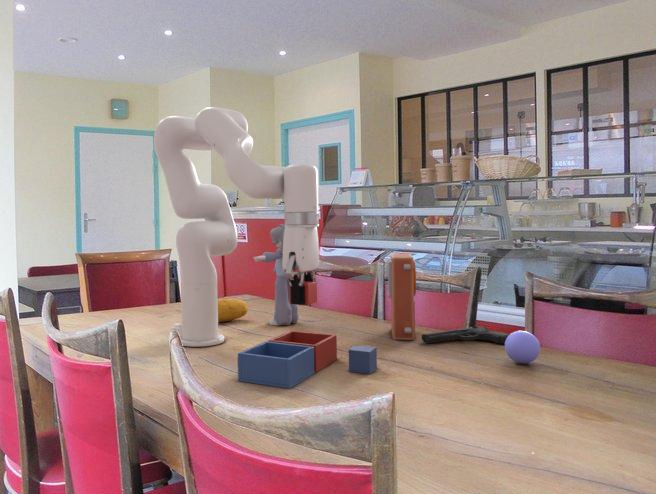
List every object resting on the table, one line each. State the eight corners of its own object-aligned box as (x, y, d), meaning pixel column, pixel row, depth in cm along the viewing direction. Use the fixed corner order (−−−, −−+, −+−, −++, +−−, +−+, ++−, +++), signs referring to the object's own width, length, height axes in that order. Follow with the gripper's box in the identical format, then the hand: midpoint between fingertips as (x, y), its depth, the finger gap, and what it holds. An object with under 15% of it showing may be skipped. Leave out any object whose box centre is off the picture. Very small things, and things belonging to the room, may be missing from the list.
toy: (299, 314, 188) (297, 222, 188) (320, 316, 184) (319, 222, 183) (244, 330, 164) (242, 225, 164) (267, 334, 159) (265, 225, 159)
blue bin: (238, 380, 116) (237, 353, 116) (265, 366, 126) (265, 341, 126) (289, 388, 110) (289, 359, 110) (314, 373, 120) (314, 346, 120)
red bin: (267, 365, 127) (267, 340, 127) (291, 353, 137) (290, 330, 137) (316, 372, 121) (315, 345, 121) (337, 359, 131) (336, 334, 131)
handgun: (453, 355, 136) (419, 342, 147) (515, 344, 143) (478, 333, 154) (453, 343, 135) (419, 331, 146) (515, 333, 143) (478, 322, 154)
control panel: (413, 329, 162) (417, 341, 147) (388, 328, 163) (389, 340, 148) (412, 253, 161) (416, 257, 147) (387, 253, 163) (388, 257, 148)
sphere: (505, 366, 123) (505, 333, 123) (503, 358, 129) (503, 327, 129) (542, 368, 120) (541, 335, 120) (538, 360, 127) (538, 328, 127)
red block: (289, 304, 127) (289, 283, 127) (298, 301, 131) (298, 280, 131) (308, 305, 125) (308, 284, 125) (317, 302, 129) (316, 281, 129)
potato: (202, 320, 181) (202, 299, 181) (244, 317, 185) (244, 296, 185) (208, 325, 174) (208, 302, 173) (252, 321, 178) (251, 299, 178)
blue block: (348, 371, 121) (348, 349, 121) (356, 366, 125) (356, 345, 125) (370, 374, 119) (369, 352, 119) (377, 368, 123) (376, 347, 123)
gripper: (302, 219, 137) (304, 296, 137) (268, 221, 122) (270, 307, 123) (332, 219, 133) (333, 298, 134) (300, 221, 119) (302, 309, 119)
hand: (303, 301), depth 128 cm, fingers closed on red block, 4 cm apart
